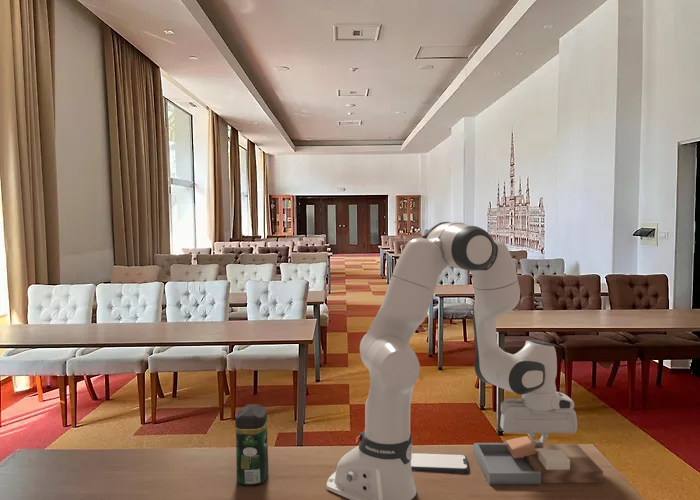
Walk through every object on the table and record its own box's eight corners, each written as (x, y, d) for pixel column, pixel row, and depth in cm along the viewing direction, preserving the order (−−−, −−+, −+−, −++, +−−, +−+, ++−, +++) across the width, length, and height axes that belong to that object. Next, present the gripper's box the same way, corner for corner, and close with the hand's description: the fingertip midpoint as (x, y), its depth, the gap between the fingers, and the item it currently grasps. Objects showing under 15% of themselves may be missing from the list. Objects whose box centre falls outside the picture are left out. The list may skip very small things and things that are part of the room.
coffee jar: (241, 468, 147) (240, 401, 145) (270, 469, 146) (269, 401, 145) (233, 487, 137) (231, 415, 136) (264, 487, 137) (263, 415, 135)
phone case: (408, 472, 146) (469, 475, 144) (408, 466, 145) (469, 469, 143) (408, 457, 154) (466, 459, 152) (408, 452, 154) (466, 454, 152)
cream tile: (546, 469, 139) (546, 460, 139) (538, 458, 145) (538, 449, 145) (569, 469, 139) (570, 460, 139) (560, 458, 145) (561, 449, 145)
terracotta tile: (514, 458, 147) (512, 449, 147) (507, 448, 153) (506, 440, 153) (535, 453, 147) (534, 445, 147) (528, 444, 153) (527, 435, 153)
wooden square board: (539, 482, 139) (539, 471, 138) (520, 454, 154) (520, 444, 154) (602, 482, 138) (603, 471, 138) (577, 454, 154) (577, 444, 154)
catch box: (489, 484, 138) (489, 473, 137) (473, 453, 156) (473, 442, 155) (540, 484, 138) (541, 473, 137) (519, 453, 155) (519, 442, 155)
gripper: (503, 402, 146) (502, 452, 147) (580, 402, 146) (578, 452, 147) (497, 394, 152) (496, 442, 153) (571, 394, 152) (569, 442, 153)
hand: (537, 447), depth 150 cm, fingers closed
